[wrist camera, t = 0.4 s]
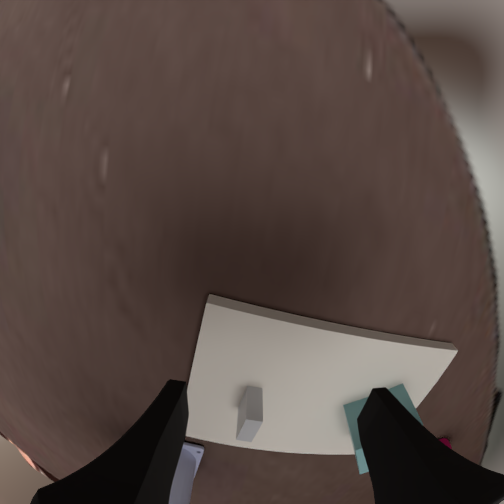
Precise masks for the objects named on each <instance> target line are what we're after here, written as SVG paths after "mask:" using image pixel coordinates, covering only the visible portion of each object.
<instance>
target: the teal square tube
mask: <svg viewBox="0 0 504 504" xmlns="http://www.w3.org/2000/svg"><path fill="white" fill-rule="evenodd" d="M388 390H389V391H390V392H391V393H392V394H393V395H394V396H395V397H396V398H397V399H398V400H399V402H400V403H401V404H402V405H403V406H404V407H405V408H406V409H407V410H408V411H409V412H410V413H411V414H412V415H413V416H414V417H415V418H416V419H417V420H418V421H419V422H420V423H421V424H422V425H423V423H422V421H421V419H420V417H419V415H418V413H417V411H416V409H415V407H414V405H413V403H412V400H411V398H410V396H409V394H408V392H407V391H406V389H405V387H404V385H403V383H402V384H400V385H397V386H395V387H392V388H390V389H388ZM367 399H368V397H366V398H363V399H360V400H357V401H354V402H351V403H348V404H345V405H343V407H344V411H345V415H346V419H347V424H348V428H349V433H350V437H351V441H352V445H353V449H354V452H355V456H356V460H357V464H358V469H359V473H360V474H362V473H366V472H369V470H368V467H367V463H366V460H365V456H364V453H363V449H362V446H361V442H360V438H359V431H358V424H357V418H358V416H359V414H360V412H361V410H362V409H363V407H364V405H365V403H366V401H367Z"/></svg>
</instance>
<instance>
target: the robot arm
mask: <svg viewBox="0 0 504 504" xmlns="http://www.w3.org/2000/svg"><path fill="white" fill-rule="evenodd" d="M188 418H189V409H188V398H187V386H186V382H184V381H177V380H171V379H170V380H169V381H167V383H166V384H165V386H164V387H163V389H162V390H161V392H160V393H159V395H158V396H157V397H156V399H155V400H154V401H153V402H152V404H151V405H150V406H149V408H148V409H147V410H146V411H145V412H144V413H143V415H142V416H141V417H140V418H139V419H138V421H137V422H136V423H135V424H134V425H133V426H132V427H131V428H130V429H129V430H128V431H127V432H126V433H125V434H124V435H123V436H122V437H121V438H120V439H119V440H118V441H117V442H116V443H115V444H113V445H112V446H111V447H110V448H109V449H107V450H106V451H105V452H104V453H102V454H101V455H100V456H98V457H97V458H96V459H94V460H93V461H92V462H90V463H89V464H87V465H86V466H84V467H82V468H81V469H79V470H77V471H76V472H74V473H72V474H70V475H69V476H67V477H65V478H63V479H61V480H59V481H57V482H54V483H52V484H50V485H47V486H45V487H43V488H40V489H38V491H37V492H36V494H35V495H34V497H33V499H32V501H31V503H30V504H190V498H191V492H192V486H193V479H194V477H195V474H196V472H197V469H198V466H199V463H200V461H201V458H202V455H203V452H204V447H202V446H199V445H195V444H191V443H186V442H184V440H185V436H186V430H187V424H188ZM357 424H358V431H359V438H360V442H361V446H362V449H363V453H364V456H365V460H366V463H367V467H368V470H369V474H370V477H371V481H372V485H373V490H374V498H375V504H499V503H500V502H501V501H503V500H504V475H503V474H500V473H497V472H494V471H491V470H488V469H486V468H484V467H481V466H479V465H477V464H475V463H473V462H471V461H469V460H468V459H466V458H464V457H463V456H461V455H459V454H458V453H456V452H455V451H453V450H452V449H450V448H449V447H448V446H446V445H445V444H444V443H442V442H441V441H440V440H438V439H437V438H436V437H435V436H434V435H433V434H432V433H430V432H429V431H428V430H427V429H426V428H425V427H424V426H423V425H422V424H421V423H420V422H419V421H418V420H417V419H416V418H415V417H414V416H413V415H412V414H411V413H410V412H409V411H408V410H407V409H406V408H405V407H404V406H403V405H402V404H401V403H400V402H399V400H398V399H397V398H396V397H395V396H394V395H393V394H392V393H391V392H390V391H389V390H388V389H387V388H386V387H382V388H373V389H372V391H371V393H370V395H369V397H368V399H367V401H366V403H365V405H364V407H363V409H362V410H361V412H360V414H359V416H358V418H357Z"/></svg>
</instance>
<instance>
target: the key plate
mask: <svg viewBox="0 0 504 504" xmlns="http://www.w3.org/2000/svg"><path fill="white" fill-rule="evenodd" d="M457 352H458V350H457V349H456V348H455V346H454V345H453V344H452V343H446V342H439V341H433V340H426V339H420V338H414V337H407V336H401V335H396V334H390V333H384V332H379V331H373V330H368V329H362V328H357V327H352V326H347V325H342V324H337V323H332V322H327V321H322V320H318V319H313V318H308V317H304V316H299V315H295V314H290V313H286V312H281V311H277V310H273V309H268V308H264V307H260V306H256V305H252V304H248V303H244V302H239V301H235V300H232V299H228V298H224V297H220V296H216V295H212V294H209V296H208V299H207V303H206V307H205V311H204V316H203V320H202V324H201V329H200V333H199V338H198V342H197V347H196V351H195V356H194V360H193V365H192V370H191V374H190V379H189V384H188V389H187V398H188V409H189V418H188V424H187V430H186V436H188V437H192V438H197V439H201V440H206V441H211V442H216V443H221V444H226V445H232V446H238V447H245V448H252V449H259V450H268V451H277V452H289V453H304V454H355V452H354V449H353V445H352V441H351V437H350V433H349V428H348V424H347V419H346V415H345V411H344V407H343V405H345V404H348V403H351V402H354V401H357V400H360V399H363V398H366V397H369V395H370V393H371V391H372V389H373V388H382V387H386V388H387V389H390V388H392V387H395V386H397V385H400V384H402V383H403V385H404V387H405V389H406V391H407V392H408V394H409V396H410V398H411V400H412V403H413V405H414V407H415V409H416V408H417V406H418V405H419V404H420V403H421V401H422V400H423V399H424V398H425V396H426V395H427V394H428V393H429V391H430V390H431V389H432V387H433V386H434V385H435V383H436V382H437V381H438V379H439V378H440V377H441V375H442V374H443V372H444V371H445V370H446V368H447V367H448V365H449V364H450V362H451V361H452V359H453V358H454V356H455V355H456V353H457Z"/></svg>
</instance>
